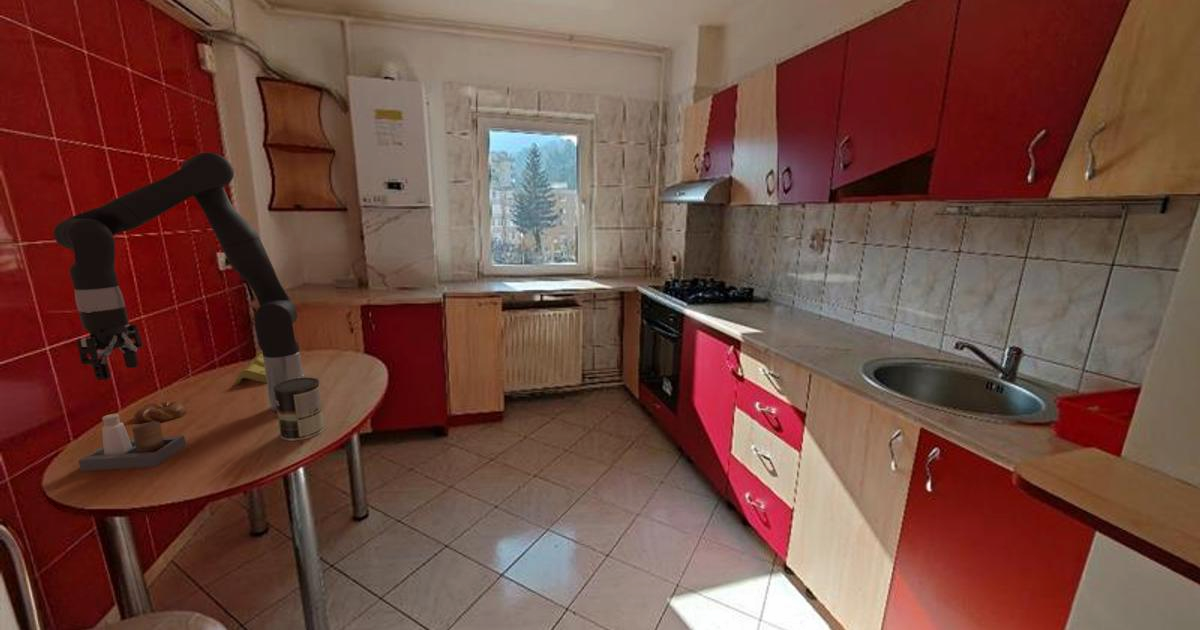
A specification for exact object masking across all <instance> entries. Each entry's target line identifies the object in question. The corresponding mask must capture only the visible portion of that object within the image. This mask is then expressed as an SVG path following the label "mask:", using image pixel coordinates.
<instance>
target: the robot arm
mask: <svg viewBox="0 0 1200 630" xmlns="http://www.w3.org/2000/svg"><path fill="white" fill-rule="evenodd" d="M234 173H235V171H234V166H233V165H232V163H231V162H230V161H229V160H228V159H227V158H226V157H224V155H223V156H222V155H220V154H219V153H215V152H210V151H209V152H208V151H206V152H199V153H198V154H195V155H193V156H192V157H190V158H188V159H186V160H184V162H183V163H182V164H181V166H180V169H178V170H176V171H175V172H173V173H171V174H168V175H167V176H165V177H162V178H161V179H159V180H155V181H154V182H152V183H151V182H150V183H148V184H146V185H144V186H142V187H138V188H136V189H133V190H132V191H130V192H127V193H125V194H123V195H120V196H119V197H117V198H114V199H112V200H110V201H109V202H106V203H105V204H103V205H101V206H98V207H95V208H93V209H89V210H87V211H84V212H81V213H78V214H76V215H73V216H71V217H68V218H66V219H64V220H62V221H60V222H59V223H58V224H56V226H55V228H54V229H53V237H54V240H55V241H56V243H58V244H59V245H60V246H62V247H63V248H65V249H68V250H72V251H73V255H74V256H73V257H74V263H73V264H71V265H70V267H69V274H70V279H71V281H72V286H73V289H74V298H75V303H76V307H77V311H78V316H79V317H80V321H81V322H80V323H81V325H82V328H83V329H84V330H86V331H88V332H89V336H88V337H84V338H77V340H76V343H77V349H78V353H79V358H80V362H81V364H82V365H83V366H84V365H91V366H92V369H93V372H94V375H95V377H96V379H97V380H98V381H104V380H105V381H107V380H110V379H111V373H110V369H109V366H108V363H107V360H108V357H109V356H110V355H111V354H112V353H113V351H115V350H116V349H119V350H120V351H121V352H122V356H123V360H124V365H125V367H126V368H128V369H129V368H137V367H139V359H138V355H137V351H138V349H139V348H142V347H143V342H142V338H141V335H140V332H139V329H138V325H137V324H135V323H134V324H133V323H132V324H129V323H130V320H129V316H128V312H127V308H126V304H125V300H124V296H123V293H122V290H121V288H120V285H119V280H118V277H117V273H116V270H115V259H116V257H115V256H116V255H115V254H116V243H115V238H114V235H117V234H119V233H123V232H128V231H132V230H135V229H137V228H138V227H141V226H142V225H144V224H147V223H148V222H150V221H152V220H154V219H156V218H158V217H159V216H161V215H162V214H165V213H166V212H167V211H169V210H170V209H172V208H174V207H176V206H178V205H179V204H181V203H182V202H184V201H186V200H187V199H190V198H192V197H194V199H195V200H196V202H197V204H198V205H199V206H200V208H201V209H202V211H203V213H204V215H205V217H206V219H207V221H208V223H209V225H210V227H211V229H212V231H213V232H214V235H215V237H216V239H217V241H218V244H219V245H220V247H221V249H222V251H223V253H224V255H225V257H226V259H227V260H228V262H229V263H230V265H231V267H232V268H233V269H234V271H236V273H238V275H239V276H240V277H241V278H242V279H243V280H244V281H245V282H246V284H248V285H249V287H250V288H251V290H252V291H253V293H254V295H255V298H256V299H257V303H258V305H259V307H258V308H257V309H256V311H255V313H254V328H255V332H256V338H257V343H258V347H259V348H260V351H261V350H262V353H263V360H264V366H265V373H266V379H267V383H266V384H267V393H268V397H269V404H270V410H271V411H272V412H274V413H277V406H276V399H275V392H274V390H273V387H274V386H275V385H277V384H279V383H281V382H283V381H287V380H291V379H296V378H307V374H306V373H305V372H304V373H303V366H302V360H301V359H302V358H301V353H300V345H299V344H300V343H299V342H298V341H297V339H296V336H295V330H294V324H295V322H296V321H297V319H298V318H297V317H298V311H297V310H298V309H297V308H296V306H295V304H294V302H293V301H292V299H290V296H289V294H288V293H287V292H286V290H285V288H284V286H282V284H281V282H280V280H279V278H278V276H277V273H276V271H275V269H274V266H273V264H272V261H271V260H270V257H269V255H268V253H267V251H266V249H265V247H264V245H263V242H262V240H261V238H260V236H259V234H258V232H256V230H255V229H254V227H253V226H252V225H251V224H250V223H249V222H248V220H246V219H245V218H244V217H243V216H242V215H241V214H240V213H239V212H238V211H237V210H236V208H235V207H234V206H233V204H232V203H231V201H230V199H229V197H228V194H227V192H226V189H225V187H227V186H228V185H229V184H230V182H232V180H233V178H234ZM133 340H134V341H135V342H134V341H133ZM88 355H89V356H90V357H88ZM99 356H100V358H99Z"/></svg>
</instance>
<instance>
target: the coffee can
mask: <svg viewBox="0 0 1200 630" xmlns="http://www.w3.org/2000/svg"><path fill="white" fill-rule="evenodd" d="M273 390H274V392H275V399H276V406H277V412H276V413H277V417H278V419H277V420H278V427H279V432H280V438H281V439H282V440H283V441H288V442H296V441H303V440H308V439H310V438H314V437H315V436H318V435H319V434H321V433H322V432H323V431H324V430H325V424H324V416H323V409H322V402H321V401H322V400H321V393H320V381H319V379H318V378H315V377H306V378H296V379H291V380H287V381H283V382H281V383H279V384H277V385H275V386H274V387H273Z"/></svg>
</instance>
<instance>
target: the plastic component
mask: <svg viewBox="0 0 1200 630" xmlns="http://www.w3.org/2000/svg"><path fill="white" fill-rule="evenodd" d="M244 379H248V380H251V381H256V382H259V383H264V384H265V383H266V384H267V379H266V373H265V366H264V360H263V353H262V350H261V349H260V350H259V351H258V353H256V356H255V357H253V359H252V361H251V362H250V363H249V365H248V366H247V368H245V369H242V370H241V372H240V373H239V374H238V376H237V378H236V379H235V380H234V383H233V385H234V386H238V385H239V384H240V383H241V382H242V381H243V380H244Z"/></svg>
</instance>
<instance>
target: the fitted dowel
mask: <svg viewBox="0 0 1200 630" xmlns="http://www.w3.org/2000/svg"><path fill="white" fill-rule="evenodd" d="M131 430H132V434H133V435H132V436H133V438H134V440H135V444H136V449H137V453H145V452H156V451H158V450H159V449H161V448H162V447H164V446H165V445H164V440H163V437H164V436H163V432H162V427H161V422H148V423H143V424H141V423H139V424H137V425H135V426H133V427H132V429H131Z"/></svg>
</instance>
